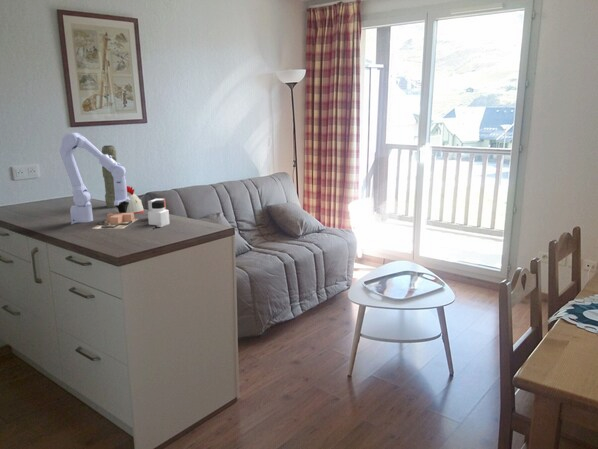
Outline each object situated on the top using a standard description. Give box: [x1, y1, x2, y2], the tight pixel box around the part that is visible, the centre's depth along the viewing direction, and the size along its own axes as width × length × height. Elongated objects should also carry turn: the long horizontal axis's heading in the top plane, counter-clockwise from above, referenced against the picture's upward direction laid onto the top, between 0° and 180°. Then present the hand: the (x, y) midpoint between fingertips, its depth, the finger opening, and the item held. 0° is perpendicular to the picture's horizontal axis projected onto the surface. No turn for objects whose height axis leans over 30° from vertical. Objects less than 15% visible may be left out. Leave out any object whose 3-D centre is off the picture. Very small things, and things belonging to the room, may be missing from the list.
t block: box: [106, 212, 135, 224], centre depth 231 cm, size 12×10×4 cm
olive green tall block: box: [101, 145, 118, 209], centre depth 272 cm, size 9×12×35 cm
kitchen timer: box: [116, 185, 144, 215], centre depth 255 cm, size 14×14×15 cm
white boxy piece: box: [147, 198, 167, 212], centre depth 238 cm, size 8×6×10 cm
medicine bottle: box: [147, 200, 171, 228], centre depth 227 cm, size 7×7×12 cm
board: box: [91, 218, 139, 230], centre depth 229 cm, size 15×21×2 cm
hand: (123, 216), depth 238 cm, fingers closed
